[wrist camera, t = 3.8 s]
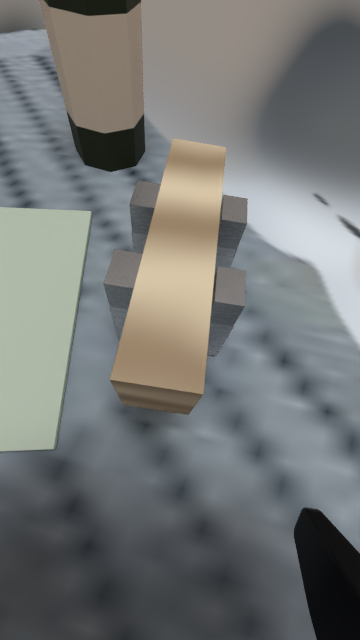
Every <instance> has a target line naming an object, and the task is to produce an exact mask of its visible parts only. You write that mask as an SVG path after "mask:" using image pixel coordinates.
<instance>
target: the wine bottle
mask: <svg viewBox="0 0 360 640" xmlns="http://www.w3.org/2000/svg"><path fill="white" fill-rule="evenodd" d="M39 1H40V5H41V9H42V13H43V17H44V21H45V26H46V30H47V34H48V38H49V42H50V46H51V50H52V54H53V58H54V62H55V66H56V70H57V74H58V78H59V82H60V86H61V90H62V94H63V98H64V102H65V106H66V110H67V114H68V118H69V123H70V127H71V131H72V135H73V139H74V143H75V147H76V150H77V152H78V153H79V155H80V157H81V158H82V160H83V162H84V163H85V165H88V166H92V167H95V168H99V169H103V170H106V171H110V172H112V171H116V170H120V169H124V168H128V167H132V166H136V165H137V163H138V162H139V160H140V158H141V157H142V155H143V153H144V152H145V134H144V101H143V100H144V98H143V60H142V23H141V0H39Z"/></svg>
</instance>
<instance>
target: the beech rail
mask: <svg viewBox="0 0 360 640" xmlns="http://www.w3.org/2000/svg"><path fill="white" fill-rule="evenodd" d="M225 155H226V147H221V146H215V145H209V144H202V143H197V142H191V141H186V140H179V139H174V138H173V140H172V144H171V148H170V152H169V156H168V159H167V163H166V167H165V171H164V175H163V179H162V182H161V186H160V190H159V194H158V198H157V201H156V205H155V209H154V213H153V217H152V221H151V224H150V228H149V232H148V236H147V240H146V244H145V247H144V251H143V255H142V259H141V263H140V266H139V270H138V274H137V278H136V282H135V286H134V289H133V293H132V297H131V301H130V305H129V309H128V312H127V316H126V320H125V324H124V328H123V331H122V335H121V339H120V343H119V347H118V351H117V354H116V358H115V362H114V366H113V370H112V373H111V377H110V381H111V383H112V384H113V386H114V388H115V390H116V392H117V394H118V396H119V398H120V399H121V401H122V403H123V405H129V406H135V407H142V408H148V409H154V410H161V411H167V412H174V413H180V414H187V415H188V414H189V413H190V411H191V410H192V409H193V407H194V406H195V405H196V403H197V402H198V401H199V399H200V398H201V397H202V395H203V393H204V382H205V371H206V361H207V350H208V339H209V328H210V317H211V307H212V296H213V285H214V274H215V263H216V253H217V242H218V231H219V220H220V209H221V199H222V188H223V177H224V166H225Z"/></svg>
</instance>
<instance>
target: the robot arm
mask: <svg viewBox="0 0 360 640" xmlns="http://www.w3.org/2000/svg"><path fill="white" fill-rule="evenodd" d="M294 539H295V544H296V549H297V554H298V559H299V564H300V569H301V574H302V579H303V584H304V589H305V594H306V599H307V603H308V608H309V612H310V616H311V620H312V624H313V627H314V631H315V634H316V638H317V640H360V553H359V552H358V551H357V550H356V549H355V548H354V547H353V546H352V544H351V543H350V542H349V541H348V540H347V539H346V538H345V537H344V536H343V535H342V534H341V533H340V531H339V530H338V529H337V528H336V527H335V526H334V525H333V524H332V523H331V522H330V521H329V520H328V518H327V517H326V516H325V515H324V514H323V513H322V512H321V511H319V510H318V509H313V508H303V509H302V510H301V513H300V515H299V518H298V520H297V523H296V525H295V528H294Z"/></svg>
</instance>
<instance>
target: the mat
mask: <svg viewBox="0 0 360 640" xmlns="http://www.w3.org/2000/svg"><path fill="white" fill-rule="evenodd" d="M91 220H92V212H91V211H75V210H51V209H27V208H4V207H0V452H3V451H29V450H54V449H56V447H57V440H58V434H59V428H60V421H61V415H62V408H63V402H64V395H65V389H66V382H67V376H68V369H69V363H70V356H71V350H72V343H73V337H74V330H75V324H76V318H77V311H78V305H79V298H80V292H81V285H82V279H83V272H84V266H85V259H86V253H87V246H88V240H89V233H90V227H91Z"/></svg>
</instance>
